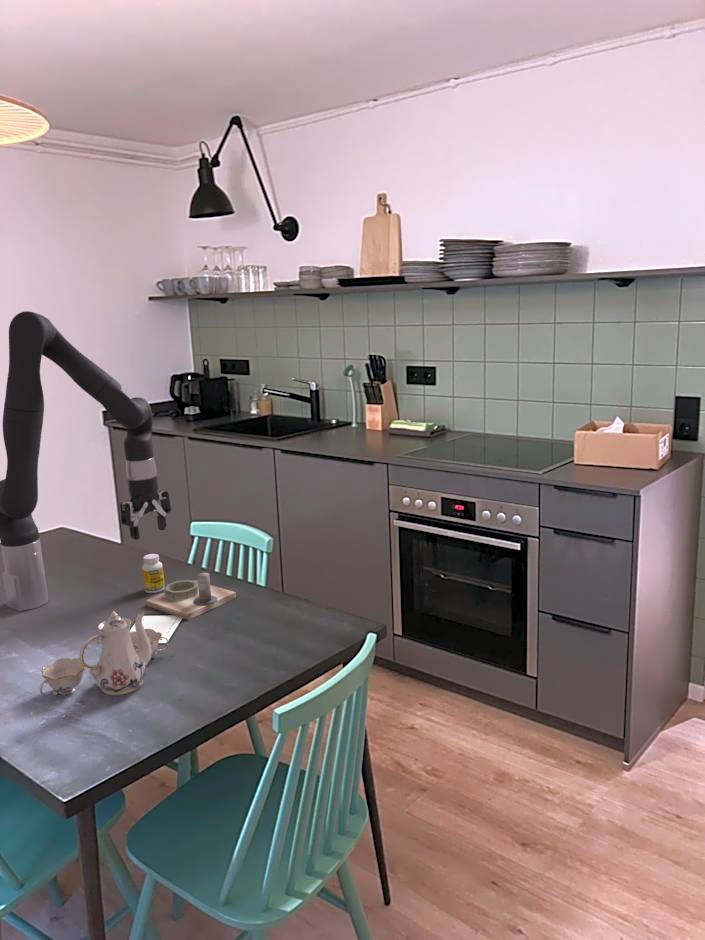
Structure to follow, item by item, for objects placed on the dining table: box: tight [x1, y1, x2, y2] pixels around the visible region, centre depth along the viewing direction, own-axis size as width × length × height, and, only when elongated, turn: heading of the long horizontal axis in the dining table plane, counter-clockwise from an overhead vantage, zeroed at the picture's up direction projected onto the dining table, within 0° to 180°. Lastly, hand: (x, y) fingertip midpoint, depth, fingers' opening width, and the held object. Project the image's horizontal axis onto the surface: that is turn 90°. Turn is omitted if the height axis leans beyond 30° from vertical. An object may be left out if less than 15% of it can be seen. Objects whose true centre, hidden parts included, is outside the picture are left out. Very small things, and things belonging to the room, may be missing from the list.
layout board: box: [146, 572, 237, 621], centre depth 195 cm, size 16×16×8 cm
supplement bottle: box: [141, 553, 166, 594], centre depth 204 cm, size 5×5×10 cm
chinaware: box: [39, 611, 170, 697], centre depth 157 cm, size 28×17×17 cm, turn 141°
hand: (149, 534), depth 202 cm, fingers open, 8 cm apart
